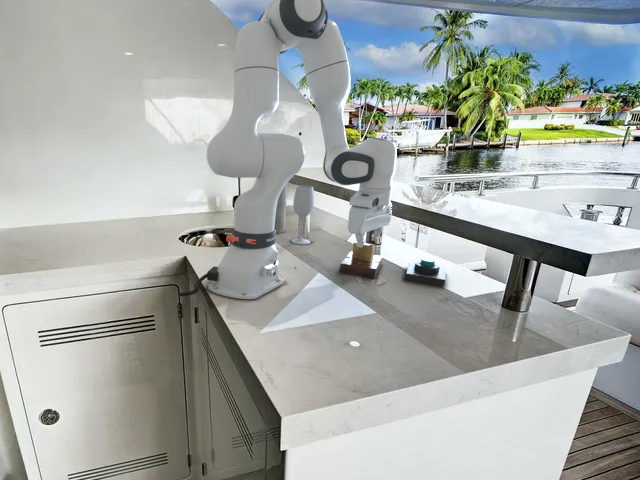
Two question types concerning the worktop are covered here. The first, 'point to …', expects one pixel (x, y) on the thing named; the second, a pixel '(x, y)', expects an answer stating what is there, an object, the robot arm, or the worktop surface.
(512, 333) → the worktop surface
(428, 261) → the bell button
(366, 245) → the lock knob
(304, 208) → the wineglass
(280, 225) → the thermos bottle
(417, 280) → the bell box
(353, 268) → the plate
